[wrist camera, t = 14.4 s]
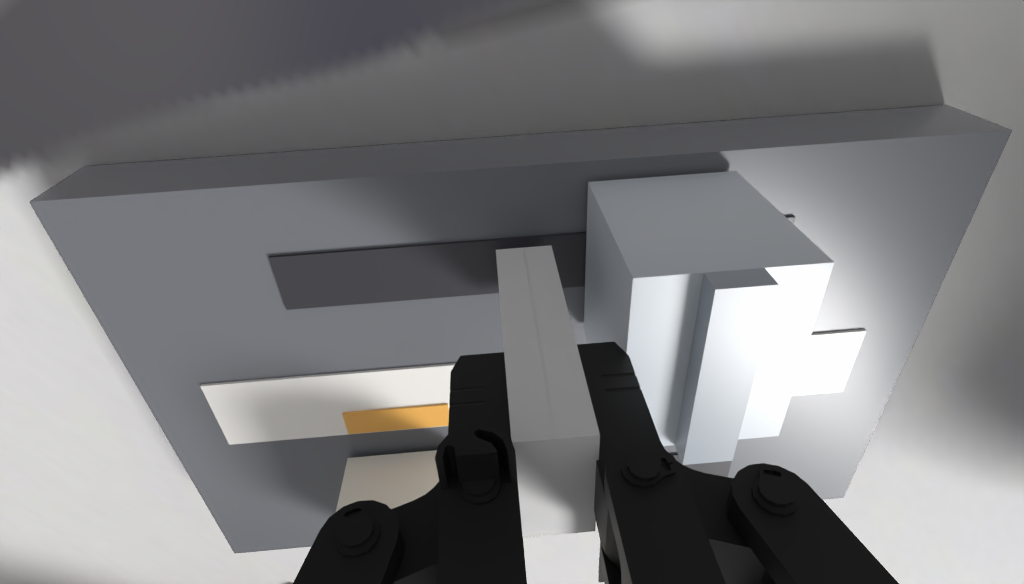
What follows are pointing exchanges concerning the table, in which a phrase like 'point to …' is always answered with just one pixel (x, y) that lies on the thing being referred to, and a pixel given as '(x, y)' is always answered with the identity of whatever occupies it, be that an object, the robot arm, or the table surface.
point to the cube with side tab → (702, 303)
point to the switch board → (476, 284)
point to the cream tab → (388, 478)
